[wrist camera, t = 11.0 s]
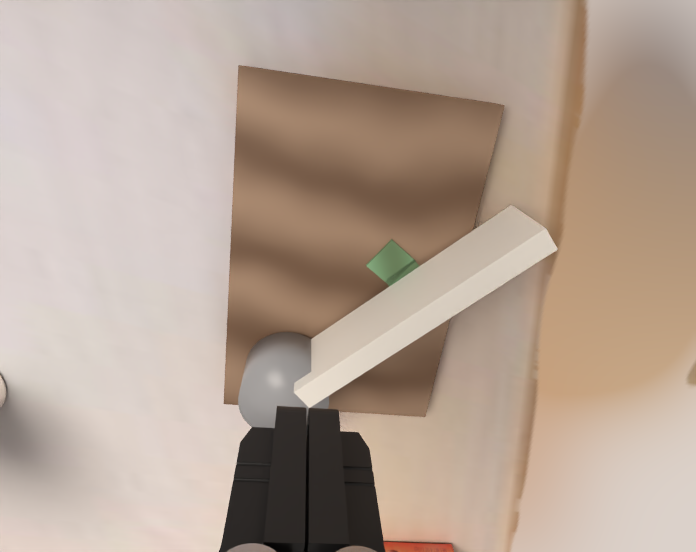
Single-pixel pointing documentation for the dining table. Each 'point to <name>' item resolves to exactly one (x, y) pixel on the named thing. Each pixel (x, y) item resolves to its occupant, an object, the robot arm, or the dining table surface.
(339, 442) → the robot arm
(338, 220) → the brown wooden board
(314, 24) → the dining table surface
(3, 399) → the beer glass
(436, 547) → the cracker box
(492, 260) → the lever handle
